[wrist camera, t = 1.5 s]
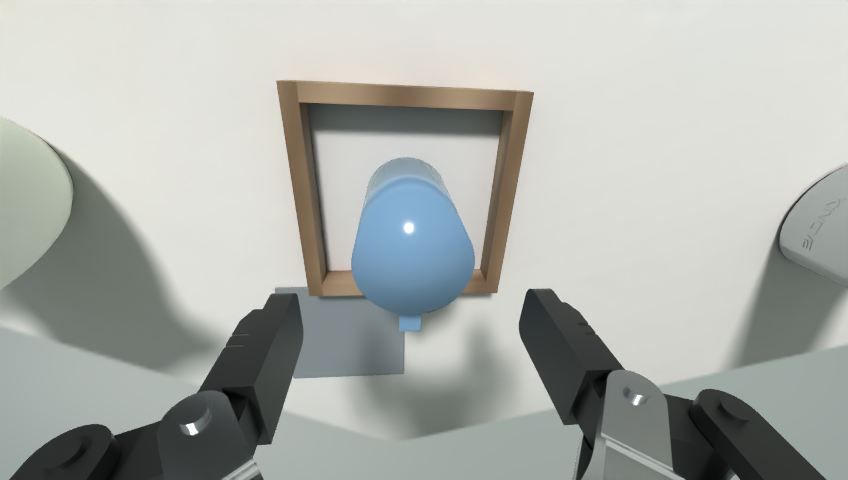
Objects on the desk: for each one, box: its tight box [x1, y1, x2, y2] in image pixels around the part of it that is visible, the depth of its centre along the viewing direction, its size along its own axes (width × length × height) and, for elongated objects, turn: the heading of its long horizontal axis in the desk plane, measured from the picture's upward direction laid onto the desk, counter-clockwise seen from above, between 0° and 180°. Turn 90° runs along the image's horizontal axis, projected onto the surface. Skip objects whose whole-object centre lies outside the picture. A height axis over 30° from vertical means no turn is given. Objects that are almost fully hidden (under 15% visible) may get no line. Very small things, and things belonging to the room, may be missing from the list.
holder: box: [276, 80, 534, 296], centre depth 21 cm, size 14×14×2 cm
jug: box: [351, 157, 475, 331], centre depth 19 cm, size 8×6×9 cm
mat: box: [275, 287, 404, 378], centre depth 27 cm, size 10×10×1 cm
